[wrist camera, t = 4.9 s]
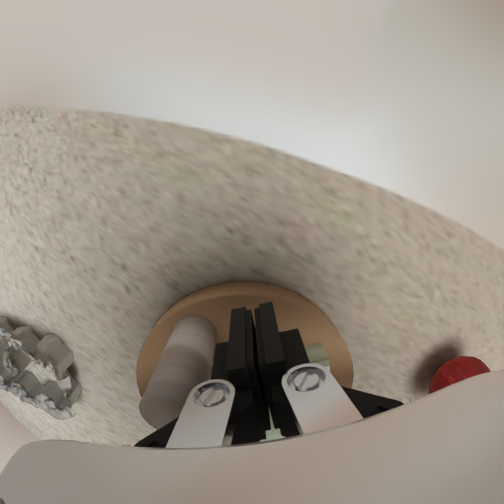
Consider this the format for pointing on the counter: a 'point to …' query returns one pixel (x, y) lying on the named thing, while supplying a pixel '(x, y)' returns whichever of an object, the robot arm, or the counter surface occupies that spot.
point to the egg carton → (47, 356)
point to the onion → (456, 372)
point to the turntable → (216, 331)
